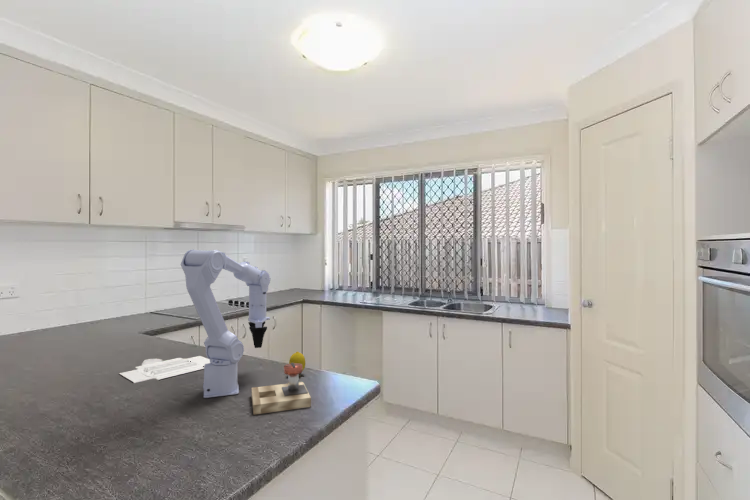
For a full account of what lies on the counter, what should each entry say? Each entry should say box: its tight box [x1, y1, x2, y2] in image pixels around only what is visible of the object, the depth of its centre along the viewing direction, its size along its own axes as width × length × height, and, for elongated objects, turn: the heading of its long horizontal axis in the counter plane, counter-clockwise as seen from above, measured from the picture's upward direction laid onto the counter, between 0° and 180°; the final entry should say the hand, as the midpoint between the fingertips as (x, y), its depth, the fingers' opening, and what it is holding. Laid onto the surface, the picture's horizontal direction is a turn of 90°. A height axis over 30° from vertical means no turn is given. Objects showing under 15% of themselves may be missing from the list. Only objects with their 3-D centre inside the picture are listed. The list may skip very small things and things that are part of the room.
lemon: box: [288, 351, 306, 372], centre depth 128 cm, size 6×6×8 cm
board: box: [251, 381, 312, 416], centre depth 105 cm, size 15×13×3 cm
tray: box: [118, 355, 210, 384], centre depth 133 cm, size 20×28×4 cm
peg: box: [283, 363, 303, 391], centre depth 107 cm, size 5×5×7 cm
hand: (257, 344), depth 127 cm, fingers open, 7 cm apart
